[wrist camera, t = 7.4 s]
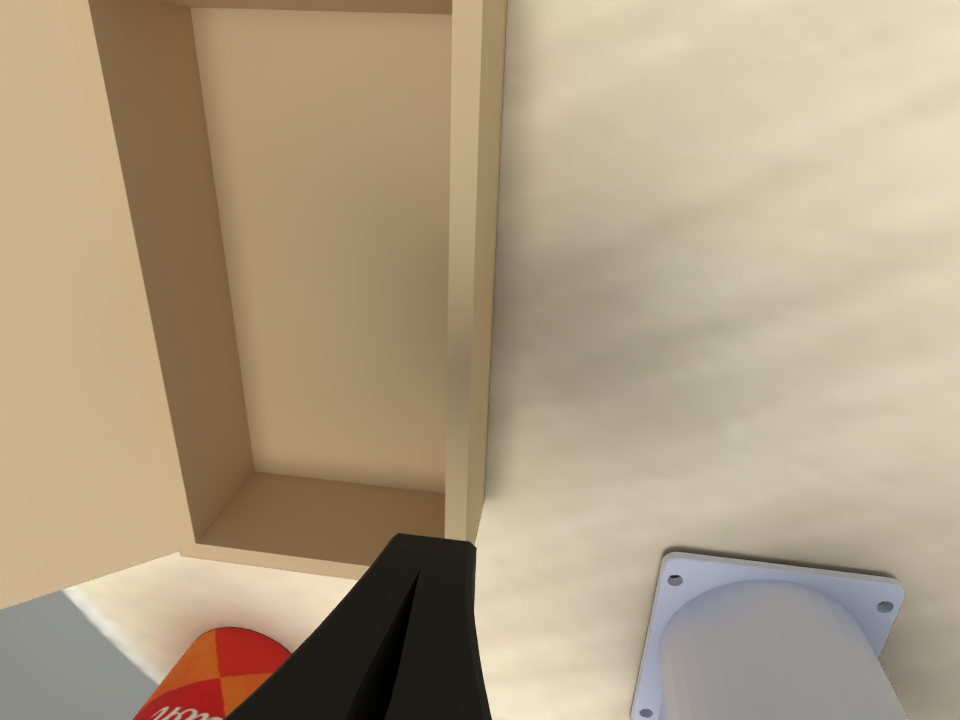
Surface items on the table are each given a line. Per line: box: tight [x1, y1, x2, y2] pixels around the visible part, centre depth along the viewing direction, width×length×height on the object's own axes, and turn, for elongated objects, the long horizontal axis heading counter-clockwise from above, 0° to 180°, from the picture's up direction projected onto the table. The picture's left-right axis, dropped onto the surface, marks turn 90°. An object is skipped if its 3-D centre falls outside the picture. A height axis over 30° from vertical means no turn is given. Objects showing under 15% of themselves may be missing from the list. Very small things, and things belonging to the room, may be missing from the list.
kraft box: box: [62, 0, 507, 580], centre depth 18 cm, size 16×9×4 cm, turn 178°
